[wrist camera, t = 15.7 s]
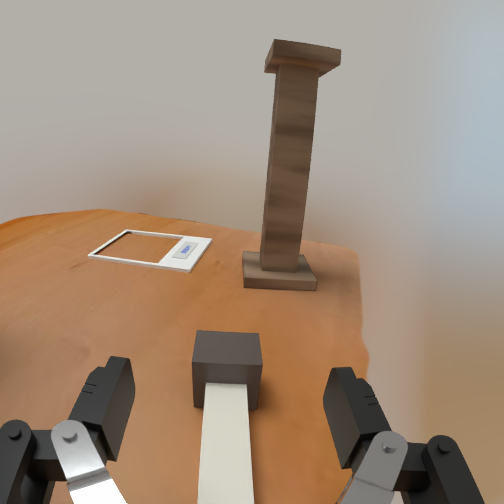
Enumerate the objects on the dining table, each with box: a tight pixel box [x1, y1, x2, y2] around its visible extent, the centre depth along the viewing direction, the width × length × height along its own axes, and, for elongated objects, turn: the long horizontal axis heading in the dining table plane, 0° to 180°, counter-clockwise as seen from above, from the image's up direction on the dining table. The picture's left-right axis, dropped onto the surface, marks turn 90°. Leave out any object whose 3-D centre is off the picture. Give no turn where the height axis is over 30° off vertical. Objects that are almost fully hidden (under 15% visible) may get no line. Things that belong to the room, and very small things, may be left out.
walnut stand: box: [242, 39, 341, 291], centre depth 43 cm, size 12×10×32 cm
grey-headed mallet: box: [192, 330, 263, 504], centre depth 18 cm, size 18×5×5 cm, turn 3°
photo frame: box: [88, 230, 212, 273], centre depth 55 cm, size 15×1×18 cm
